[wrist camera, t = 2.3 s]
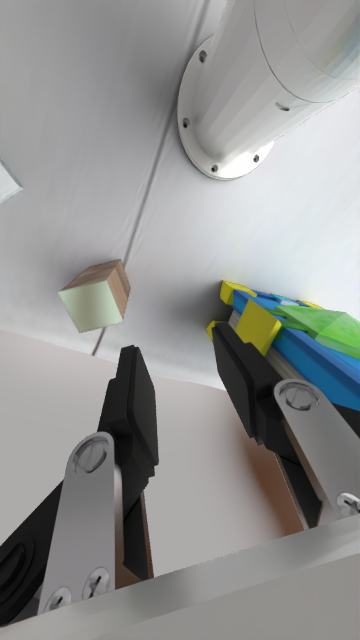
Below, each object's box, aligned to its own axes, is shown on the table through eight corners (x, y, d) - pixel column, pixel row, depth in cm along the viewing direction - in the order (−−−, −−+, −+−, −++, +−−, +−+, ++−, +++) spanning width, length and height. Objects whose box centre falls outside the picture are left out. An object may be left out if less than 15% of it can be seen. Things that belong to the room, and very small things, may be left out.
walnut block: (120, 259, 29) (105, 280, 19) (130, 288, 31) (122, 322, 21) (90, 266, 29) (57, 292, 18) (102, 295, 31) (79, 333, 20)
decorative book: (221, 265, 32) (606, 484, 5) (331, 296, 38) (776, 474, 11) (194, 340, 37) (315, 632, 11) (293, 357, 43) (530, 574, 17)
